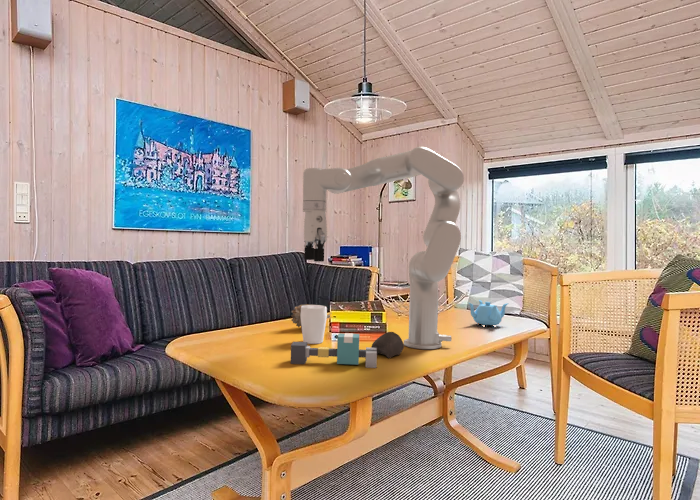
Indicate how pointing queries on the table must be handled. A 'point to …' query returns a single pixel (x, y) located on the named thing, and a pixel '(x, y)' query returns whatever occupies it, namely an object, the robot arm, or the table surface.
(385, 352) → the stone
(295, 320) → the pine cone
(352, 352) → the sleeve
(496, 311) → the teapot
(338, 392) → the table surface
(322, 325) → the cup
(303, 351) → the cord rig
